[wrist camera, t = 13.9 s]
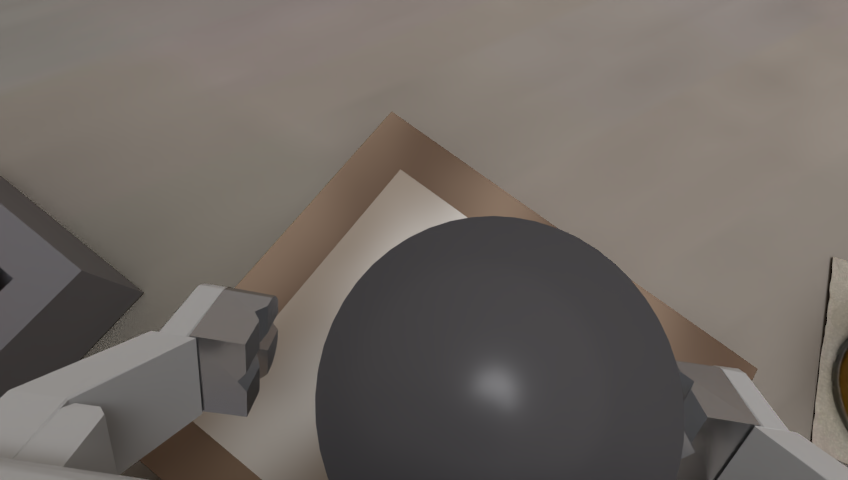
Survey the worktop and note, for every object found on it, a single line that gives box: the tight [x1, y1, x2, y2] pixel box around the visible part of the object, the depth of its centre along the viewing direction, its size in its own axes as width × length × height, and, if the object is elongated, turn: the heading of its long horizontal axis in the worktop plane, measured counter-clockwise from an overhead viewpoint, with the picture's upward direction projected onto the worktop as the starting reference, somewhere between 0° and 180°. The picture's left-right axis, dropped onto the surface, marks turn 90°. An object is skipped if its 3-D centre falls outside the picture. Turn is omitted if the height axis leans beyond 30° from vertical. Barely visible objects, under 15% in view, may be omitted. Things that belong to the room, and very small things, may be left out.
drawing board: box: [140, 112, 757, 480], centre depth 18 cm, size 18×16×1 cm
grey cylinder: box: [315, 216, 685, 480], centre depth 12 cm, size 5×5×12 cm
